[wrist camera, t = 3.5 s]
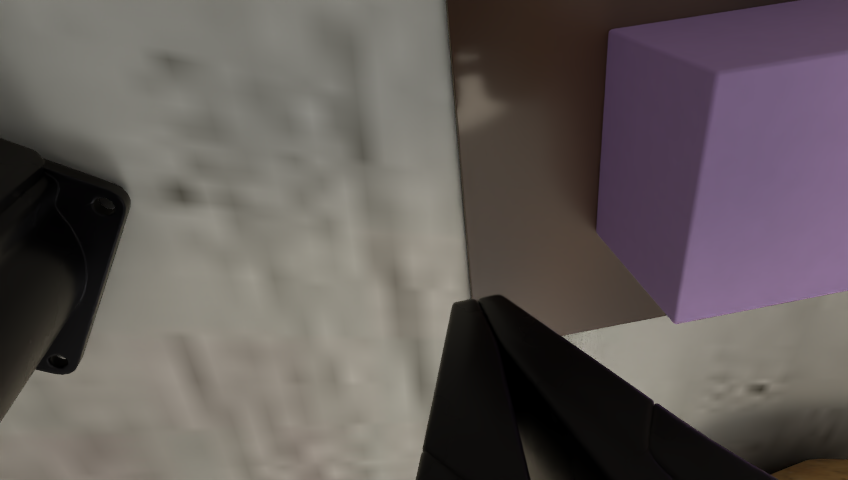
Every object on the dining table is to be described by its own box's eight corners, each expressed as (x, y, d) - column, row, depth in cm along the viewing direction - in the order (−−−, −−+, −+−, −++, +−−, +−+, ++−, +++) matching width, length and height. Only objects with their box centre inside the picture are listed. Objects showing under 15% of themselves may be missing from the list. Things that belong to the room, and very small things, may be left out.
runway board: (475, 348, 19) (476, 352, 18) (433, -145, 11) (434, -146, 11) (875, 271, 20) (880, 274, 19) (1074, -227, 12) (1084, -229, 12)
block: (594, 232, 17) (673, 325, 13) (607, 28, 13) (717, 72, 10) (776, 200, 17) (906, 280, 13) (829, -6, 14) (1019, 22, 10)
